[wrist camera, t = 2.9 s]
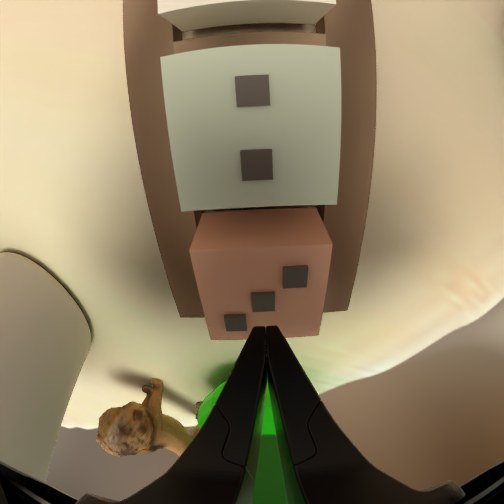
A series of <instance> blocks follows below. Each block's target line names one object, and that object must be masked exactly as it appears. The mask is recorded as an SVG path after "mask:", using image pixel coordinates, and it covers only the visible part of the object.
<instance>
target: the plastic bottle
mask: <svg viewBox="0 0 504 504" xmlns="http://www.w3.org/2000/svg"><path fill="white" fill-rule="evenodd" d="M225 383H226V381H225V382H223V383H221V384H220V385H219V386H218V387H217V388H216V389H215V390H214V391H213V392H212V393H210V394H209V395H208V396H207V397H206V398H205V399H204V401H203V403H202V404H201V406H200V408H199V411H198V420H197V421H198V424H199V428H201V427H202V425H203V424H204V422H205V420H206V419H207V417H208V415H209V413H210V411H211V410H212V408H213V406H214V405H215V402H216V400H217V398H218V396H219V394H220V392H221V390H222V389H223V387H224V385H225ZM254 484H255V485H254V492H253V499H252V504H288V498H287V493H286V487H285V481H284V476H283V470H282V464H281V459H280V453H279V447H278V442H277V436H276V430H275V424H274V418H273V413H272V407H271V401H270V395H269V389H268V381H267V390H266V399H265V408H264V416H263V425H262V433H261V441H260V449H259V456H258V464H257V471H256V478H255V483H254Z"/></svg>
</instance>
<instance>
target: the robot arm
mask: <svg viewBox="0 0 504 504" xmlns="http://www.w3.org/2000/svg"><path fill="white" fill-rule="evenodd" d="M266 354H267V358H266ZM267 381H268V389H269V395H270V401H271V407H272V413H273V418H274V424H275V430H276V436H277V442H278V447H279V453H280V459H281V464H282V470H283V476H284V481H285V487H286V493H287V498H288V504H504V460H503V461H502V462H500V463H498V464H496V465H494V466H492V467H491V468H489V469H487V470H486V471H484V472H482V473H480V474H479V475H477V476H476V477H474V478H472V479H471V480H469V481H467V482H466V483H464V484H462V485H460V486H458V485H457V484H455V483H454V482H453V481H451V480H450V481H447V482H444V483H441V484H438V485H436V486H433V487H430V488H427V489H424V490H420V491H418V490H416V489H413V488H411V487H409V486H407V485H406V484H404V483H402V482H400V481H398V480H397V479H395V478H393V477H391V476H390V475H388V474H386V473H385V472H383V471H381V470H380V469H378V468H376V467H375V466H374V465H373V464H371V463H370V462H369V461H368V460H367V459H366V458H365V457H364V456H363V455H362V453H360V451H359V450H358V449H357V448H356V446H355V445H354V444H353V443H352V442H351V441H350V440H349V438H348V437H347V436H346V435H345V433H344V432H343V431H342V430H341V428H340V427H339V426H338V424H337V423H336V422H335V421H334V419H333V417H332V416H331V414H330V413H329V411H328V410H327V408H326V406H325V405H324V403H323V402H322V401H321V398H320V397H319V395H318V393H317V392H316V390H315V388H314V387H313V385H312V383H311V382H310V380H309V378H308V377H307V375H306V373H305V371H304V370H303V368H302V366H301V365H300V363H299V361H298V360H297V358H296V356H295V354H294V353H293V351H292V349H291V348H290V346H289V344H288V343H287V341H286V339H285V337H284V336H283V334H282V332H281V330H280V329H279V327H278V326H277V325H272V326H266V329H265V326H254V327H253V328H252V330H251V332H250V334H249V336H248V339H247V341H246V343H245V345H244V347H243V349H242V351H241V353H240V355H239V357H238V359H237V361H236V363H235V365H234V367H233V369H232V371H231V373H230V375H229V377H228V379H227V381H226V383H225V385H224V387H223V389H222V390H221V392H220V394H219V396H218V398H217V400H216V402H215V405H214V406H213V408H212V410H211V411H210V413H209V415H208V417H207V419H206V420H205V422H204V424H203V425H202V427H201V428H200V430H199V431H198V433H197V434H196V436H195V437H194V439H193V440H192V441H191V442H190V444H189V445H188V446H187V448H186V449H185V450H184V452H183V453H182V454H181V456H180V457H179V458H178V459H177V461H176V462H175V463H174V464H173V466H172V467H171V468H170V469H169V470H168V471H167V472H166V473H164V474H163V475H162V476H161V477H159V478H158V479H156V480H155V481H153V482H152V483H150V484H149V485H147V486H146V487H144V488H143V489H141V490H140V491H138V492H136V493H135V494H133V495H131V496H130V497H128V498H126V499H124V500H122V501H116V500H112V499H108V498H104V497H100V496H97V495H93V494H89V493H87V494H85V495H84V496H83V497H82V498H81V499H77V498H75V497H73V496H71V495H68V494H66V493H64V492H63V491H61V490H59V489H57V488H55V487H52V486H50V485H48V484H46V483H44V482H42V481H40V480H38V479H36V478H34V477H31V476H29V475H27V474H25V473H23V472H21V471H19V470H17V469H15V468H13V467H11V466H9V465H7V464H5V463H4V462H2V461H0V504H252V499H253V492H254V485H255V484H254V483H255V478H256V471H257V464H258V456H259V449H260V441H261V433H262V425H263V416H264V408H265V399H266V390H267Z"/></svg>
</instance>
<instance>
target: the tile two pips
mask: <svg viewBox="0 0 504 504" xmlns="http://www.w3.org/2000/svg"><path fill="white" fill-rule="evenodd" d="M160 60H161V72H162V82H163V92H164V101H165V110H166V118H167V126H168V133H169V140H170V147H171V154H172V160H173V167H174V173H175V179H176V185H177V191H178V196H179V202H180V207H181V212H184V211H197V210H212V209H227V208H245V207H266V206H294V205H337V196H338V183H339V167H340V146H341V60H340V48H338V47H329V46H317V45H300V44H255V45H238V46H227V47H217V48H209V49H202V50H195V51H189V52H183V53H178V54H173V55H168V56H163V57H160Z"/></svg>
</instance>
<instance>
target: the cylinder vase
mask: <svg viewBox="0 0 504 504" xmlns="http://www.w3.org/2000/svg"><path fill="white" fill-rule="evenodd" d="M90 346H91V333H90V329H89V326H88V323H87V321H86V319H85V317H84V315H83V313H82V311H81V310H80V308H79V306H78V305H77V303H76V302H75V301H74V299H73V298H72V297H71V296H70V294H69V293H68V292H67V291H66V290H65V288H64V287H63V286H62V285H61V284H60V283H59V282H58V281H57V280H56V279H55V278H54V277H53V276H52V275H50V274H49V273H48V272H47V271H46V270H44V269H43V268H42V267H41V266H39V265H38V264H36V263H35V262H33V261H32V260H30V259H28V258H26V257H24V256H22V255H19V254H16V253H12V252H3V253H0V461H2V462H4V463H5V464H7V465H9V466H11V467H13V468H15V469H17V470H19V471H21V472H23V473H25V474H27V475H29V476H31V477H34V478H36V479H38V480H40V481H42V482H44V483H46V480H47V475H48V471H49V466H50V462H51V458H52V454H53V450H54V447H55V443H56V440H57V436H58V433H59V429H60V426H61V423H62V420H63V417H64V414H65V411H66V408H67V405H68V402H69V400H70V397H71V394H72V391H73V389H74V386H75V383H76V381H77V378H78V376H79V373H80V371H81V368H82V366H83V363H84V361H85V359H86V356H87V354H88V352H89V349H90Z"/></svg>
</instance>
